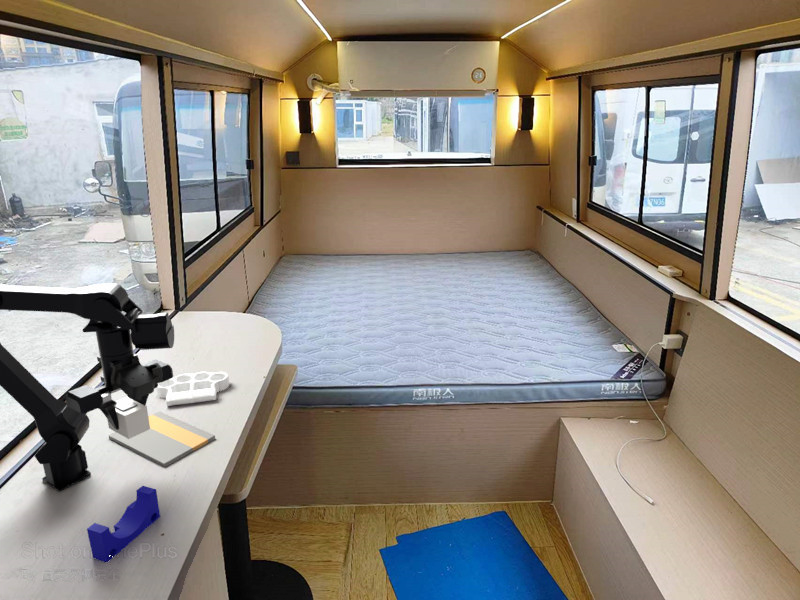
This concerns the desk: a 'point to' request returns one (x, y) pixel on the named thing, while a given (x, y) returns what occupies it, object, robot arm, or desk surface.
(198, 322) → the desk surface
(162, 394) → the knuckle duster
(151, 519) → the blue cradle bracket
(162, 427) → the grey flat board
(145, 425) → the white block
